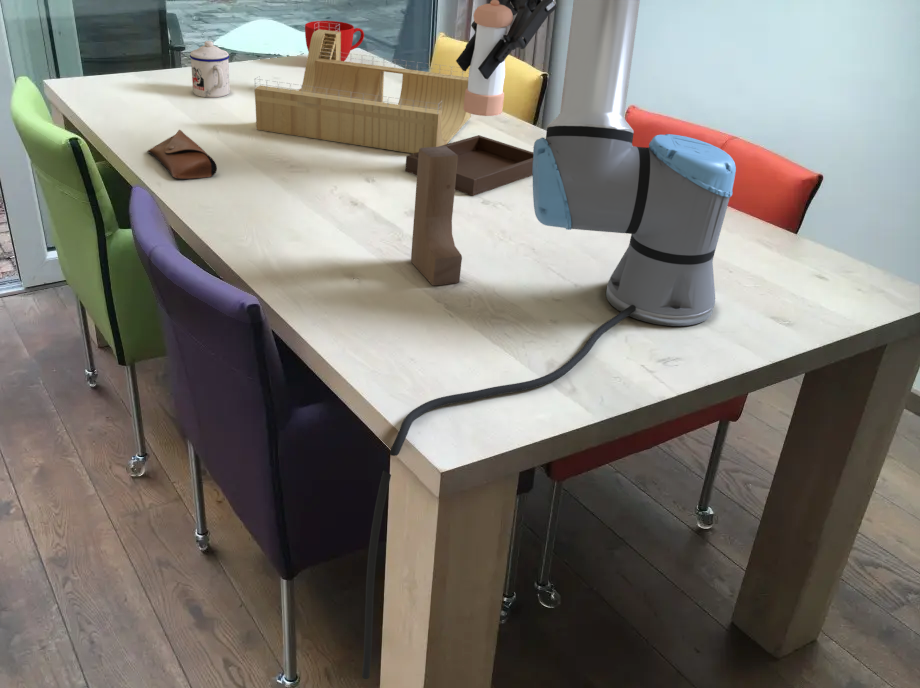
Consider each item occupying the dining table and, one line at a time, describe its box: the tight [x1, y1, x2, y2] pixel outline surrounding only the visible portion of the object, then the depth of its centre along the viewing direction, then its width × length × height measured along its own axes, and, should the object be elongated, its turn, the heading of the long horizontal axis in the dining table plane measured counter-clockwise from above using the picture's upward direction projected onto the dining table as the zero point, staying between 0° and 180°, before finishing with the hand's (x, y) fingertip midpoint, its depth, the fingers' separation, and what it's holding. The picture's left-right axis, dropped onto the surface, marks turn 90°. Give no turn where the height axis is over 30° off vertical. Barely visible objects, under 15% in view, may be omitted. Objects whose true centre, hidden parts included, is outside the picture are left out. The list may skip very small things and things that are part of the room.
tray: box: [404, 134, 534, 197], centre depth 176 cm, size 22×17×3 cm
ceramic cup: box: [304, 20, 365, 61], centre depth 243 cm, size 13×17×10 cm
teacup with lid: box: [189, 40, 231, 99], centre depth 211 cm, size 12×9×12 cm
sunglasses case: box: [147, 129, 218, 180], centre depth 172 cm, size 18×7×7 cm
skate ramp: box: [253, 22, 472, 154], centre depth 198 cm, size 40×35×16 cm
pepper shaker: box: [463, 0, 514, 117], centre depth 163 cm, size 7×7×19 cm
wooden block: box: [410, 146, 463, 287], centre depth 132 cm, size 9×4×18 cm, turn 20°
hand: (471, 69), depth 163 cm, fingers closed on pepper shaker, 5 cm apart
